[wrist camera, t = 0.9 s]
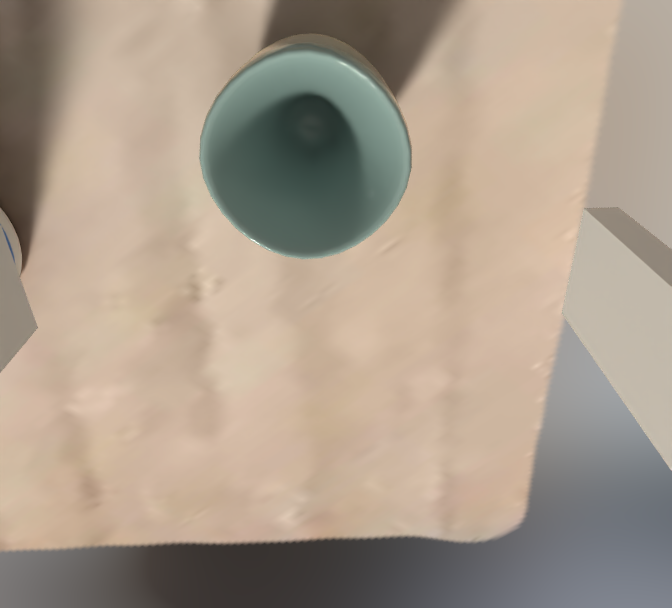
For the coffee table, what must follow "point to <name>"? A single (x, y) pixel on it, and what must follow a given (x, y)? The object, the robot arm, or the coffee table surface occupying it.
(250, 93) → the cup
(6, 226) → the supplement tub
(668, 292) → the robot arm
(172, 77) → the coffee table surface
